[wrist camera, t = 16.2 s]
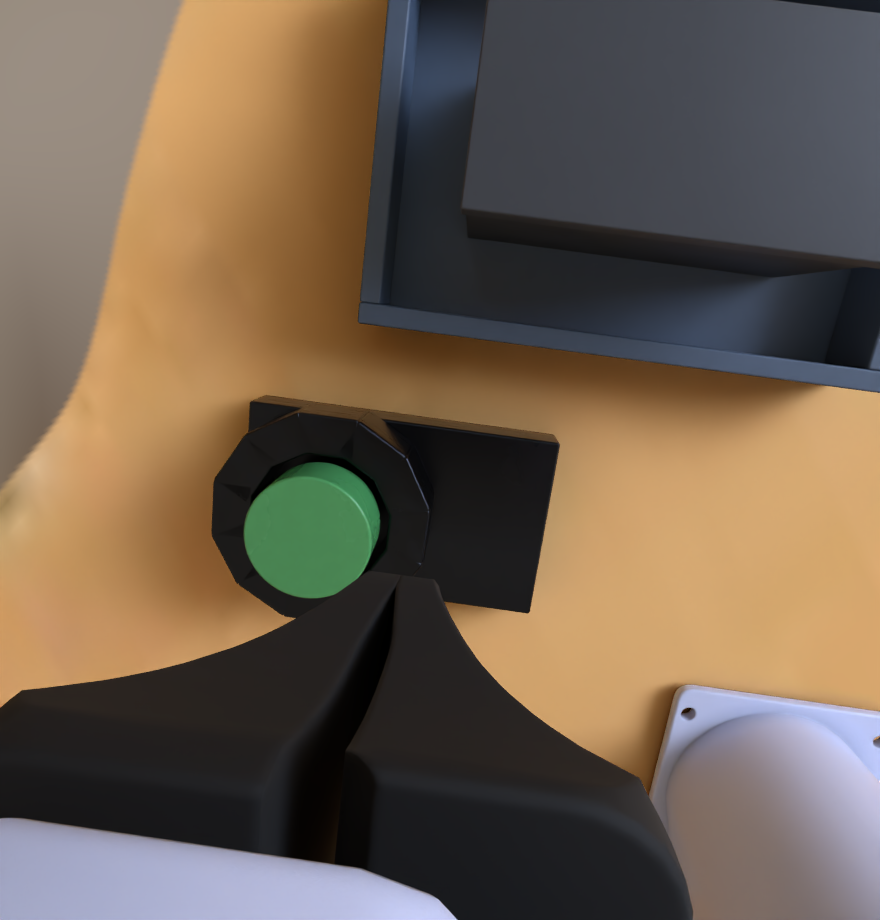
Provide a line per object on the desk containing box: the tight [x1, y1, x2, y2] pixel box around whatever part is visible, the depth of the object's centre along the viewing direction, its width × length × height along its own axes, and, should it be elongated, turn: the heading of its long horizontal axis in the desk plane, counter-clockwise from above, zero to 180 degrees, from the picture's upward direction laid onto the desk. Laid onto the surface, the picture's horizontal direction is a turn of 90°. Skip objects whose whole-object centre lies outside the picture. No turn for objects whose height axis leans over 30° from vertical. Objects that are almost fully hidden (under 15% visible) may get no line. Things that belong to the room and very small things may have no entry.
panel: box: [212, 395, 560, 618], centre depth 20 cm, size 6×10×4 cm, turn 83°
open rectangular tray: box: [358, 0, 880, 393], centre depth 17 cm, size 10×15×2 cm
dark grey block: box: [460, 0, 880, 278], centre depth 15 cm, size 5×10×6 cm, turn 83°
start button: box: [244, 462, 380, 598], centre depth 18 cm, size 4×4×2 cm
